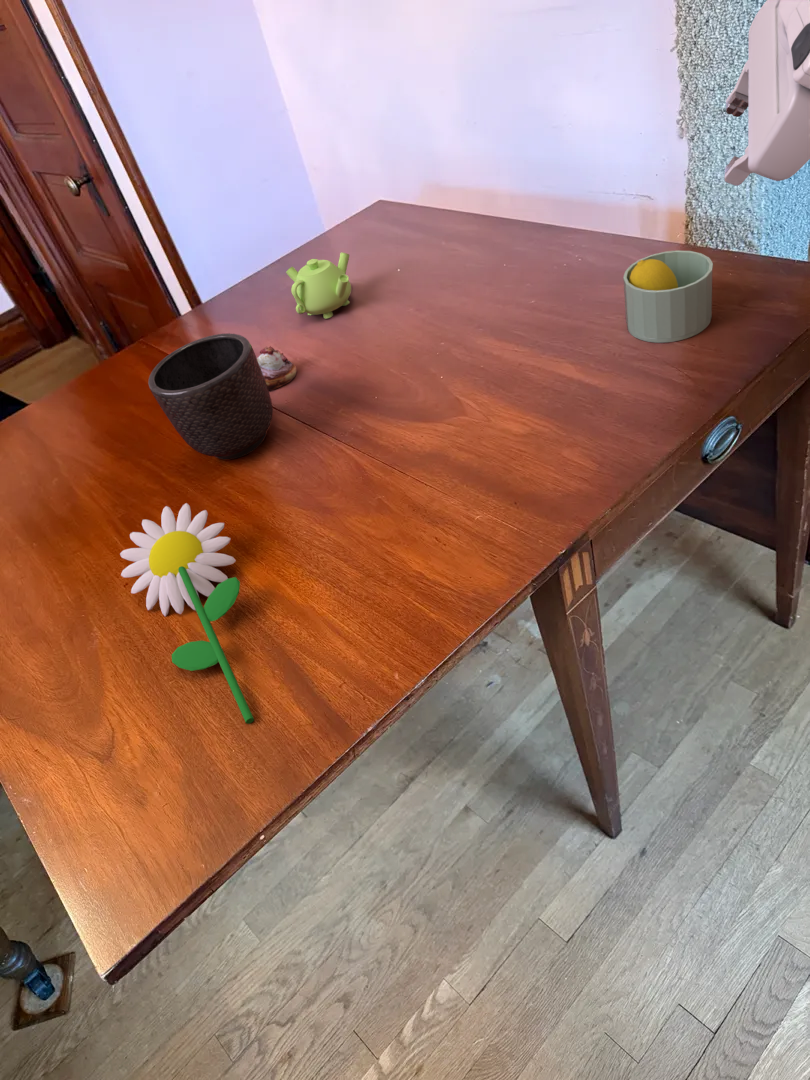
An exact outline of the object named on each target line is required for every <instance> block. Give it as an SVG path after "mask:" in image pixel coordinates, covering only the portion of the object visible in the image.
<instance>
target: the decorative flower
mask: <svg viewBox="0 0 810 1080" xmlns="http://www.w3.org/2000/svg"><path fill="white" fill-rule="evenodd" d="M177 515H178V516H177V519H176V518H175V514H174V512H173V511H172V509H171V507H169V506H168V505H165V506H164V507H163V509H162V512H161V515H160V517H161V518H160V519H161V526H160V525H159V524H157V523H156V522H155V521H152V520H150V519H142V521H141V526H142V529H143V530H144V532H145V533H143V532H140V531H132V532H130V534H129V538H130V540H131V541H132V542H133V543H134V544H135V545H136V546H138V547H130V548H126V549H123V550H122V551H121V552H120V553H119V555H120V557H121V559H124V560H126V561H129V562H133V563H131V564H128V566H125V568H123V569H122V571H121V573H120V576H121V577H122V578H135V577H138V576H139V578H138V579H136V581H135V583H133V585H132V587H131V591H130V593H131V594H134V595H135V594H138V593H140V592H142V591H144V590H145V589H146V588H148V589H147V592H146V598H145V606H146V609H147V611H151V610H153V608H154V607H155V605H156V604H157V603H158V601H159V607H160V610H161V613H162V615H163V616H164V617H167V615H168V614H169V610H170V606H172V608H173V610H174V612H175V613H176V614H179V615H182V613H184V610H185V609H184V608H185V602H186V604H187V606H188V607H190V608H191V609H192V610H193V611H195V612H196V614H197V616H198V618H199V620H200V623H201V625H202V627H203V629H204V632H205V634H206V636H207V639H208V641H207V640H194V641H188V642H186V643H184V644H181V645H180V646H177V648H176V649H175V650H174V651H173V653H172V654H171V662H172V664H174V665H175V666H177V667H178V668H179V669H181V670H186V671H191V672H193V671H203V670H206V669H208V668H211V667H213V666H215V665H217V664H218V663H219V665H220V668H221V670H222V672H223V674H224V677H225V679H226V682H227V683H228V686H229V688H230V690H231V693H232V695H233V698H234V700H235V702H236V704H237V706H238V709H239V711H240V713H241V715H242V718H243V720H244V722H245V724H247V725H249V724H252V723H253V722H254V721H255V718H254V716H253V714H252V711H251V709H250V707H249V704H248V702H247V700H246V698H245V696H244V694H243V691H242V689H241V687H240V685H239V683H238V681H237V678H236V676H235V674H234V671H233V669H232V667H231V665H230V663H229V661H228V659H227V656H226V653H225V652H224V650H223V648H222V645H221V643H220V641H219V638H218V636H217V635H216V632H215V629H214V628H213V626H212V623H211V622H215V621H218V620H219V619H221V618H222V617H224V616H225V615H226V614H227V613H228V612H229V610H230V609H231V608H232V607H233V606H234V604H236V600H237V598H238V597H239V594H240V589H241V588H240V587H241V581H240V580H239V578H237V576H233V577H229V578H228V576H227V575H226V574H225V573H224V572H222V571H221V570H220V569H218V568H217V567H227V566H230V565H233V564H234V563H236V561H237V560H236V559H235V558H234V556H231V555H228V554H226V553H220V552H218V551H220V550H223V549H224V548H225V547H226V546H227V545H228V544H230V542H231V537H228V536H219V534H220V533H221V532H222V531H223V529H224V528H225V522H216V523H212V524H210V525H209V526H206V527H205V525H206V524H207V520H208V516H209V513H208V511H207V510H206V509H204V510H202V511H200V512H198V514H196V515H195V516H194V517H193V519H192V511H191V506H190V505H189V503H187V502H186V503H184V504H182V506H181V507H180V509H179V511H178V514H177ZM215 567H216V568H215ZM210 581H212V582H215V583H218V584H217V585H216V586H214V585H213V584H212V582H210ZM199 593H200V594H201V595H203V596H205V597H207V599H206V600H205V603H204V605H203V603H202V600H201V599H200V596H199Z"/></svg>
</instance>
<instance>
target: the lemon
mask: <svg viewBox="0 0 810 1080" xmlns="http://www.w3.org/2000/svg"><path fill="white" fill-rule="evenodd" d="M639 260H640V259H639ZM629 283H630V284H632V285H633V286H635V287H637V288H641V289H644V290H656V291H658V290H670V289H674V288H678V283H677V280H676V277H675V275H674V273H673V272H672V270H671V269H670V268H669V267H668V266H667V265H666V264H665V263H663V262H662V261H660V260H656V259H648V260H640V261H639V262H638V263H637V265H636V266H635V268H634V269H633V271H632V272H631V275H630V278H629Z"/></svg>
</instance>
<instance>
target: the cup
mask: <svg viewBox="0 0 810 1080" xmlns="http://www.w3.org/2000/svg"><path fill="white" fill-rule="evenodd" d="M648 259H656V260H660V261H662V262H663V263H665V264H666V265H667V266H668V267H669V268H670V269H671V270H672V272H673V273H674V275H675V277H676V280H677V283H678V288H674V289H670V290H658V291H656V290H644V289H641V288H637V287H635V286H633V285H632V284H630V283H629V278H630V275H631V272H632V271H633V269H634V268H635V266H636V265H637V263H638V262H639V261H640V260H648ZM622 279H623V291H624V292H623V293H624V295H623V296H624V309H625V311H624V312H625V323H626V329H627V331H628V333H629V334H630V335H631V336H632V337H634V338H636V339H638V340H640V341H643V342H647V343H653V344H657V343H658V344H663V343H674V342H678V341H683V340H686V339H689V338H691V337H695V336H696V335H699V334H700V333H702V332H703V331H704V330H705V329H707V328H708V326H709V325H710V324H711V322H712V318H713V289H714V287H713V283H714V282H713V281H714V280H713V279H714V263H713V261H712V259H711V258H710V257H709V256H708V255H705V254H704V253H701V252H696V251H693V250H667V251H661V252H657V253H654V254H653V253H652V254H650V255H647V256H644V257H642V258H640V259H638V260H636V261H635V262H633V263H632V264H630V265H629V266H628V267H627V268H626V270H625V271H624V274H623V278H622Z"/></svg>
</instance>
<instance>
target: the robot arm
mask: <svg viewBox="0 0 810 1080" xmlns="http://www.w3.org/2000/svg"><path fill="white" fill-rule="evenodd" d="M747 109H748V110H747ZM746 110H747V112H748V115H747V117H748V119H747V120H748V122H747V123H748V124H747V125H748V128H747V134H748V137H747V138H748V139H747V140H748V145H747V146H746V147H745V149H744V154H742V156H741V157H739V156H736V155H734V156H733V157H732V158H731V159H730V161H729V162H728V164H727V165H725V167H724V182H725V183H726V184H729V185H732V186H735V187H737V186H741V185H742V184H743V183H744V182H745V181H746V179H747V178H748V177H749V176H750V175H751V174H756V175H758V176H760V177H762V178H763V177H764V178H766V179H769V180H772V181H775V182H781V181H784V180H788V179H790V178H791V177H793V176H794V175H795V174H796V173H798V172H799V171H800V169H802V168H803V167H804V166H805V165H806V164H807V163H808V162H809V161H810V0H766V1H765V2H764V3H763V5H762V6H761V7H760V8H759V10H757V13H756V14H755V16H754V18H753V19H752V22H751V24H750V27H749V30H748V59H747V61H746V62H745V63H744V66H743V67H742V70H741V72H740V74H739V77H738V79H737V82H736V83H735V85H734V88H733V90H731V92H730V94H729V95H728V96H727V98H726V100H725V112H726V114H727V115H732V116H733V117H735V118H739V117H741V116H742V115H743V114H744V113H745V111H746Z"/></svg>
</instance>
